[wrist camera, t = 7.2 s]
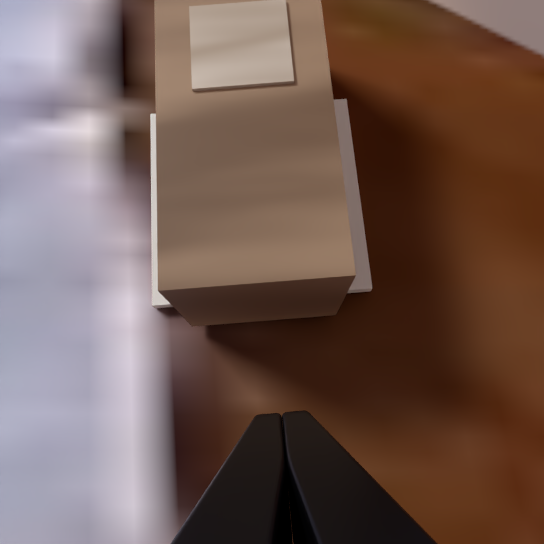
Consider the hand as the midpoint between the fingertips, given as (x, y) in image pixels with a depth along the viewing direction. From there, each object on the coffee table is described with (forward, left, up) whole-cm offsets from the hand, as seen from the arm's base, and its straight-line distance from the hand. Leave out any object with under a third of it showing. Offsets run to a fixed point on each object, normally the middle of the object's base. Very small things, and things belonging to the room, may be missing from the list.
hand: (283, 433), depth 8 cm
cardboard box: (+3, 0, -5) cm, 6 cm away
